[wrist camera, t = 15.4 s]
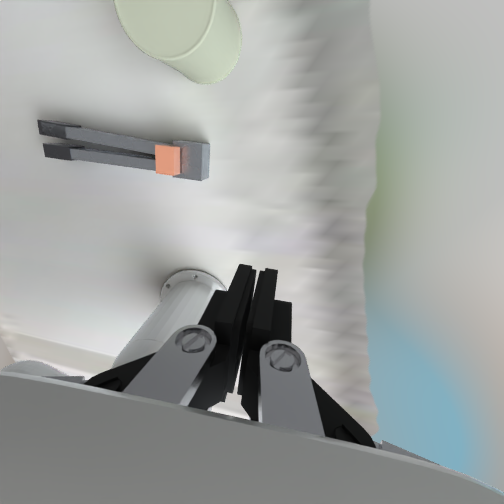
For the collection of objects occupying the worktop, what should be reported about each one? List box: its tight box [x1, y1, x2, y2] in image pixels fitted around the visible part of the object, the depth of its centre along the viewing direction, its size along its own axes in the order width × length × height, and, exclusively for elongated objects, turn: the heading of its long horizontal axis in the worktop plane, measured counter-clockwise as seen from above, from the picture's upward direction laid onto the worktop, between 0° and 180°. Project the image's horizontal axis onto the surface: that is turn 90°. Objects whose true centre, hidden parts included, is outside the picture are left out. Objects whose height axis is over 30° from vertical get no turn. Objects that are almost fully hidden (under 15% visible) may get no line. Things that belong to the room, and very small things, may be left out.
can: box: [114, 0, 242, 84], centre depth 27 cm, size 9×9×12 cm
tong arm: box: [38, 120, 173, 155], centre depth 37 cm, size 18×2×3 cm, turn 80°
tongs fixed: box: [43, 140, 210, 181], centre depth 38 cm, size 23×5×3 cm, turn 83°
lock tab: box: [155, 144, 180, 176], centre depth 34 cm, size 2×3×2 cm
